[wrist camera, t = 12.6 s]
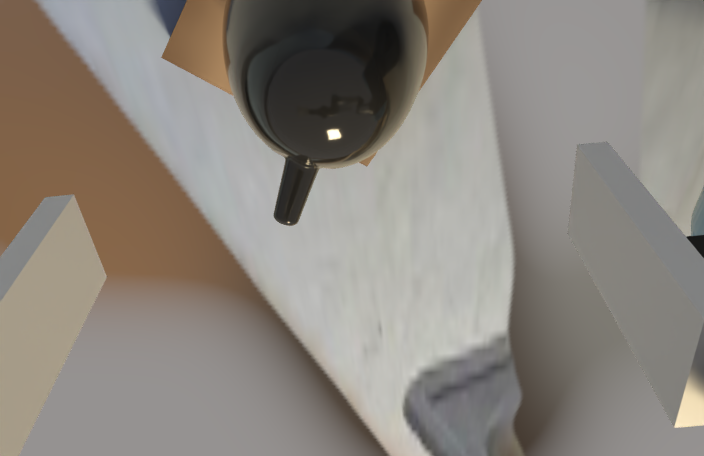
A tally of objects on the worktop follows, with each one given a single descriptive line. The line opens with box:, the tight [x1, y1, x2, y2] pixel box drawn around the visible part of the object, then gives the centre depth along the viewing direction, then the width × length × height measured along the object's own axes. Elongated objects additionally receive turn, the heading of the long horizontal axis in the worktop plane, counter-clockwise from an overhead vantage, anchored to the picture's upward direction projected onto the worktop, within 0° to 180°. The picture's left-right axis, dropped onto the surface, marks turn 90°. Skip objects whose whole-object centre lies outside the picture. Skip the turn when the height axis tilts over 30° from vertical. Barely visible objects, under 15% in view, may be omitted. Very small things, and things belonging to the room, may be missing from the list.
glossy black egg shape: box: [222, 0, 429, 226], centre depth 29 cm, size 10×10×15 cm
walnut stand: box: [161, 0, 482, 166], centre depth 36 cm, size 14×14×3 cm
